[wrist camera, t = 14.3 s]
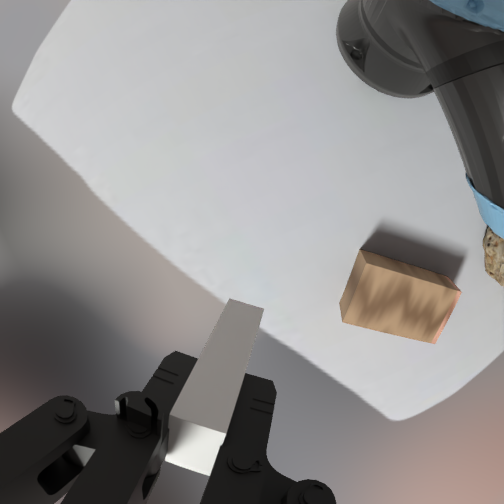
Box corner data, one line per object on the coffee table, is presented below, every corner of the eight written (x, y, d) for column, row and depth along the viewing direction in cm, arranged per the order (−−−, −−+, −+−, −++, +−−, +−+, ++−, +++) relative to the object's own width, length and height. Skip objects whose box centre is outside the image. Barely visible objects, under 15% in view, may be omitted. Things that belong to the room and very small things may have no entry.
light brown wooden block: (366, 263, 33) (461, 292, 32) (359, 248, 38) (447, 276, 37) (342, 322, 36) (434, 343, 35) (339, 302, 41) (424, 324, 39)
